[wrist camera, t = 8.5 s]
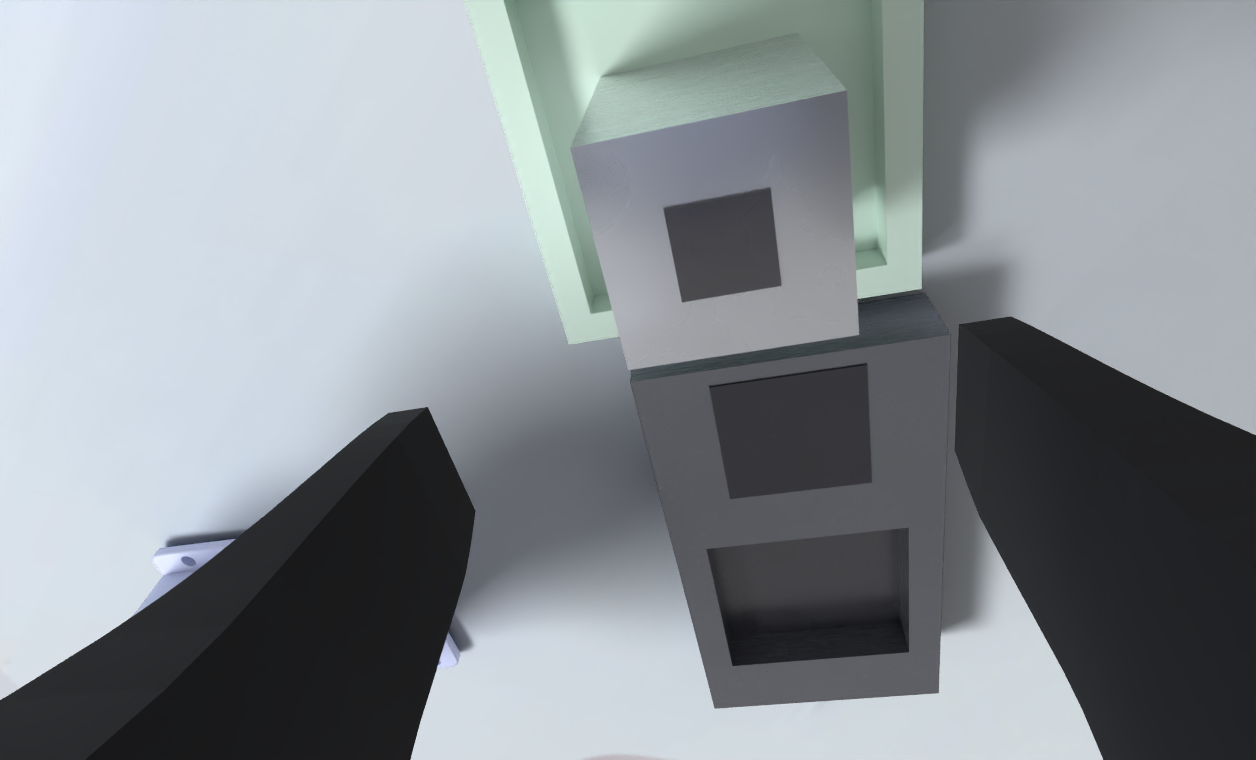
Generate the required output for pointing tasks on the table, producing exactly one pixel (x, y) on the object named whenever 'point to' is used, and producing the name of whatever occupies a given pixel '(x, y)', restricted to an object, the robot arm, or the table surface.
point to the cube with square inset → (722, 202)
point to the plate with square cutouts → (810, 507)
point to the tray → (679, 28)
